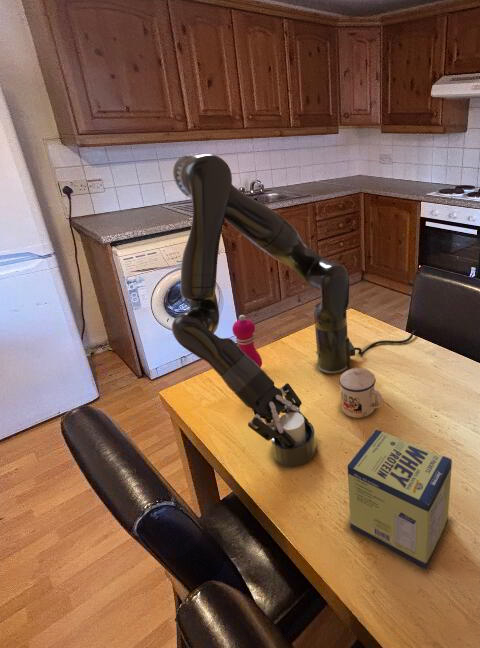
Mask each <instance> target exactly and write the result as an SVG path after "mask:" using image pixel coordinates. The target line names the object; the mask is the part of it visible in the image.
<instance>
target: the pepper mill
mask: <svg viewBox="0 0 480 648" xmlns="http://www.w3.org/2000/svg"><path fill="white" fill-rule="evenodd" d="M255 331H256V326H255V323H254V322H253V321H252V319H249V318H246V316H245V315H244V314H241V315H239V316H238V320H236V321H235V322H234V323H233V324H232V333H233V335H234V336H235V340H236V341H235V343H236V344H237V345H238V346H239V347H240V348H241V349H242V350H243V351H244V353H245V354H246V355H247V356H249V357H250V358H251V359H252V360H254V361H255V362H256V364H257V365H258V366H259V367H260V368H261V367H262V366H263V359H262V356H261V355H260V353H259V352H258V351H257V349H256V347H255V343H254V342H255V338H256V337H255ZM261 369H262V368H261Z"/></svg>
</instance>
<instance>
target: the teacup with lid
mask: <svg viewBox="0 0 480 648" xmlns="http://www.w3.org/2000/svg"><path fill="white" fill-rule="evenodd" d="M338 380H339V382H338V383H339V385H340V400H341V410H342V412H343V413H344V414H345V415H347V416H348V417H350V418H354V419H355V418H357V419H360V418H364V417H367V416H370V415H371V414H372V413H373V412H374V411H375V409H379V408H380V407H381V406H383V403H384V398H383V395H382V394H381V392H379V391H378V390H376V389H375V388H376V385H375V384H376V381H377V380H376V376H375V374H374V373H373V372H372V371H370V370H368V369H367V368H362V367H353V368H349V369H346V370H345V371H343V373H342V374H341V375H340V377H339V379H338ZM376 397H377V399H378V403H376Z"/></svg>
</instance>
